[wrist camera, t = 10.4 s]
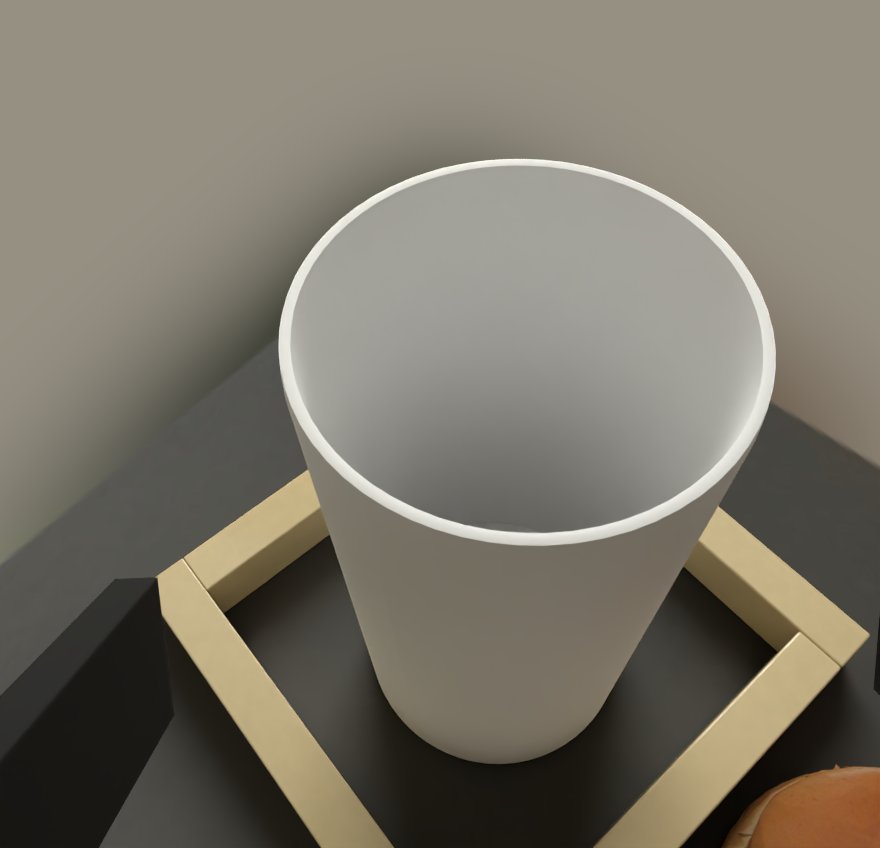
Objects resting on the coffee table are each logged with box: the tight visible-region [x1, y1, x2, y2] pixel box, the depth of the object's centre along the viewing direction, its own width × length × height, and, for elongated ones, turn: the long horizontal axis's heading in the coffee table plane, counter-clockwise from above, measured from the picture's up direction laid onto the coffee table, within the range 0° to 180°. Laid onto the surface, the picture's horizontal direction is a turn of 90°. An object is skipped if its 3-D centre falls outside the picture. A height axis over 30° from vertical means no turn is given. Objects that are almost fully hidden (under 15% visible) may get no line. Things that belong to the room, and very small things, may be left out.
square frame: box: [155, 470, 870, 848], centre depth 26 cm, size 16×16×2 cm
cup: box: [279, 159, 776, 764], centre depth 20 cm, size 8×8×16 cm
